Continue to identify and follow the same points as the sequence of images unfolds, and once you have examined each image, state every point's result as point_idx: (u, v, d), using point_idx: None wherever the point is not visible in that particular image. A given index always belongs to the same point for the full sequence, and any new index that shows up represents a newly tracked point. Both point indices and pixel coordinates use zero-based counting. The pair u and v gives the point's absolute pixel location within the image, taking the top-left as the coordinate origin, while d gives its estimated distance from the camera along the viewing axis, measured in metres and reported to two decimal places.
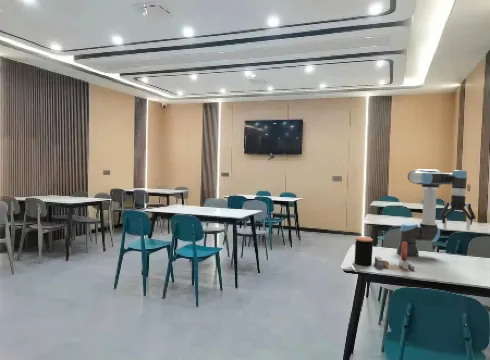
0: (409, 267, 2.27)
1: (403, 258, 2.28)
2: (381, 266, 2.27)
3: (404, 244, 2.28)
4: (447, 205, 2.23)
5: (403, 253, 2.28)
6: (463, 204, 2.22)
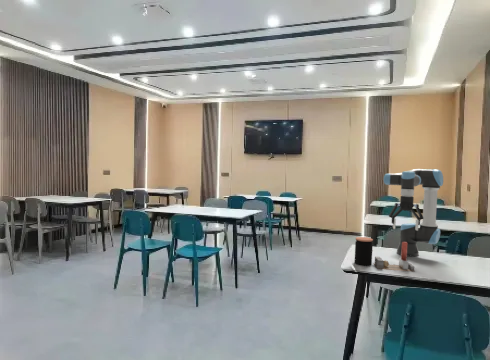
0: (409, 267, 2.27)
1: (403, 258, 2.28)
2: (381, 266, 2.27)
3: (404, 244, 2.28)
4: (396, 205, 2.28)
5: (403, 253, 2.28)
6: (411, 205, 2.27)
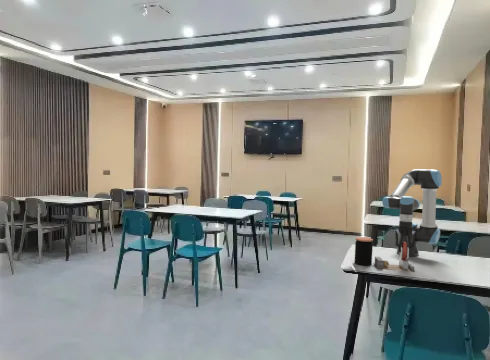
0: (409, 267, 2.27)
1: (403, 258, 2.28)
2: (381, 266, 2.27)
3: (404, 244, 2.28)
4: (396, 233, 2.28)
5: (403, 253, 2.28)
6: (410, 229, 2.27)
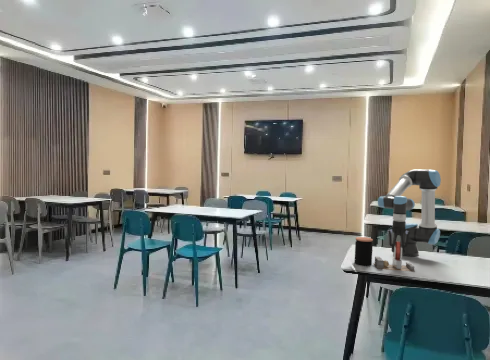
0: (409, 267, 2.27)
1: (396, 258, 2.29)
2: (381, 266, 2.27)
3: (397, 244, 2.28)
4: (389, 233, 2.29)
5: (396, 253, 2.29)
6: (404, 229, 2.28)
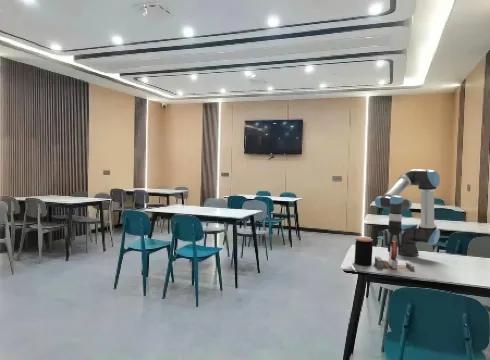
0: (409, 267, 2.27)
1: (392, 257, 2.29)
2: (381, 266, 2.27)
3: (393, 243, 2.29)
4: (385, 233, 2.29)
5: (392, 252, 2.29)
6: (400, 229, 2.28)
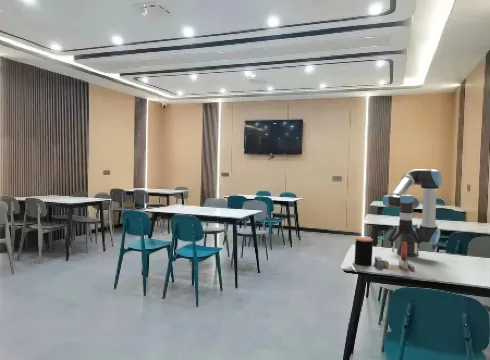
0: (409, 267, 2.27)
1: (403, 258, 2.28)
2: (381, 266, 2.27)
3: (404, 244, 2.28)
4: (395, 229, 2.28)
5: (403, 253, 2.28)
6: (410, 228, 2.27)
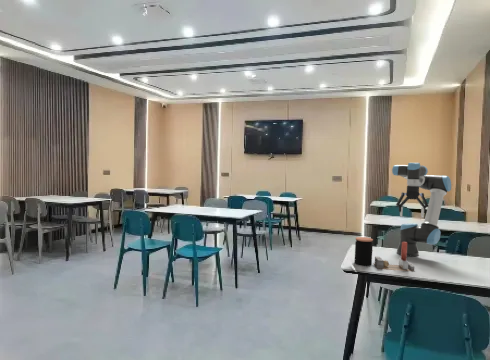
0: (409, 267, 2.27)
1: (403, 258, 2.28)
2: (381, 266, 2.27)
3: (404, 244, 2.28)
4: (403, 195, 2.43)
5: (403, 253, 2.28)
6: (417, 194, 2.42)
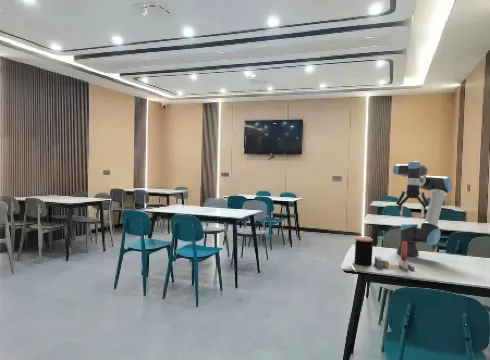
0: (409, 267, 2.27)
1: (403, 258, 2.28)
2: (381, 266, 2.27)
3: (404, 244, 2.28)
4: (403, 193, 2.44)
5: (403, 253, 2.28)
6: (417, 192, 2.43)
